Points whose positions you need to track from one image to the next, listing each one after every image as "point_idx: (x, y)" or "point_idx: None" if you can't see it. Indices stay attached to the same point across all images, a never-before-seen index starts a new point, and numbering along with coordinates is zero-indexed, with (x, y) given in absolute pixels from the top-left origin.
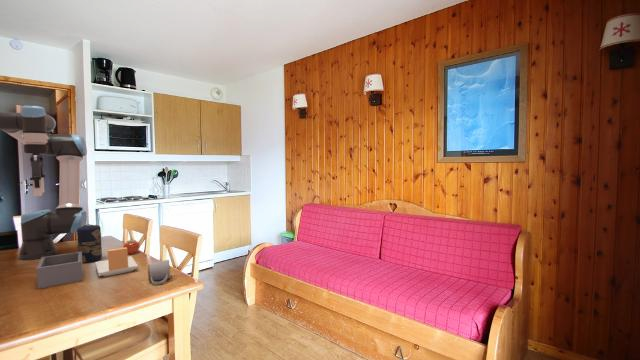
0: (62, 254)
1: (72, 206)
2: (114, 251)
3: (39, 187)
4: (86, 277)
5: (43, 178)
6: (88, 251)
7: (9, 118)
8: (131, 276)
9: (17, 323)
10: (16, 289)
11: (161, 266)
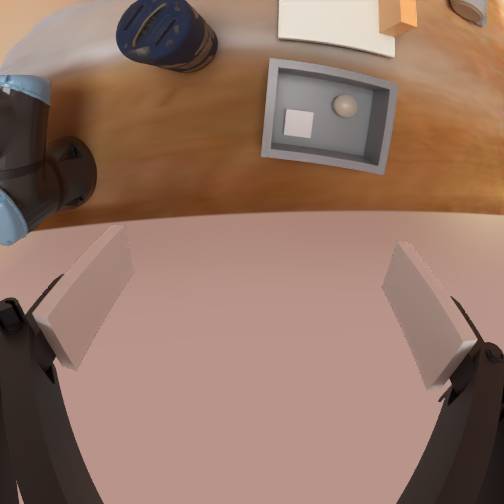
0: (268, 106)
1: None
2: (415, 15)
3: (453, 298)
4: None
5: (44, 308)
6: (211, 43)
7: None
8: None
9: (484, 203)
10: (337, 194)
11: (486, 3)
